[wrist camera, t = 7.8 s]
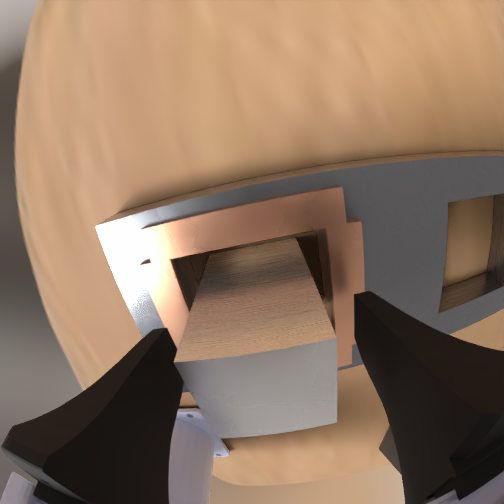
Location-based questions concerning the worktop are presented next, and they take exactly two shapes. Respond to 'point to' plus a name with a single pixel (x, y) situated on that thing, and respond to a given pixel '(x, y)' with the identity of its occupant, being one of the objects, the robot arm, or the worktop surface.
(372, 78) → the worktop surface
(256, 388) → the block
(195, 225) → the rail plate
